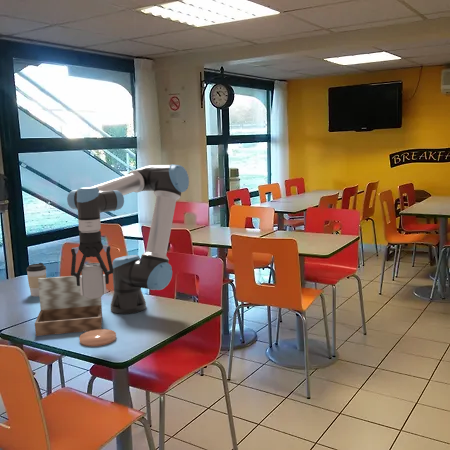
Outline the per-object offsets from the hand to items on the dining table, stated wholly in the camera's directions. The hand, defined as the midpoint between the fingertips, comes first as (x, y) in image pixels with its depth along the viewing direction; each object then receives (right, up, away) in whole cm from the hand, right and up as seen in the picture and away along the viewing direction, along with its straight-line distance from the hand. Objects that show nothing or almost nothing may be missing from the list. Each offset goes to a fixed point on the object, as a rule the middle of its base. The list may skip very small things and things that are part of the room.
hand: (93, 293), depth 182 cm
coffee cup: (-43, -9, +63) cm, 77 cm away
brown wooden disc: (+1, -17, +2) cm, 17 cm away
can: (0, -1, 0) cm, 1 cm away
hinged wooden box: (-14, -15, +17) cm, 27 cm away
